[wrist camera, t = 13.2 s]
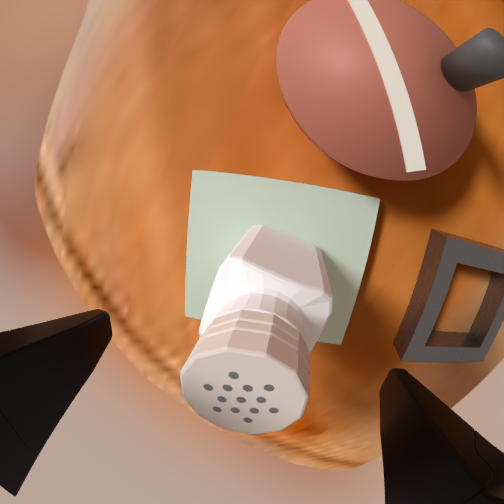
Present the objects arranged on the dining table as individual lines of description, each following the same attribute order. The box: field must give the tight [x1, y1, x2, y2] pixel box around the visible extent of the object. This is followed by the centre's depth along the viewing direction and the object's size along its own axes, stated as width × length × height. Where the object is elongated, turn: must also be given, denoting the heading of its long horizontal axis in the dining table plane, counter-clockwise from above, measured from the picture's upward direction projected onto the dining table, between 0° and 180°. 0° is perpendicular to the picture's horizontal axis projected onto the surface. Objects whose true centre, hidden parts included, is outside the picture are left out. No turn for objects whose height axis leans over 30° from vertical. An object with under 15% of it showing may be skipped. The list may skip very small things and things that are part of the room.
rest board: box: [185, 170, 380, 345], centre depth 15 cm, size 10×9×1 cm
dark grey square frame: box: [393, 229, 504, 362], centre depth 13 cm, size 8×8×2 cm
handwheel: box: [276, 0, 504, 181], centre depth 7 cm, size 10×10×5 cm
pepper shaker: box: [180, 225, 333, 434], centre depth 10 cm, size 4×4×10 cm
